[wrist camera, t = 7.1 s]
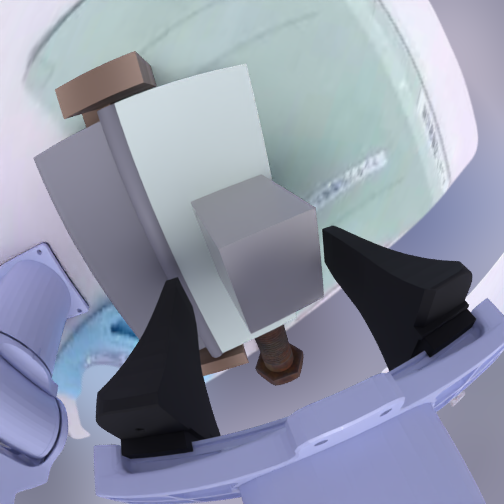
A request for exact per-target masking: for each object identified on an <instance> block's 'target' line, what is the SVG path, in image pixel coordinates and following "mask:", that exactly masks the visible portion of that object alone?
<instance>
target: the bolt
mask: <svg viewBox="0 0 504 504" xmlns="http://www.w3.org/2000/svg"><path fill="white" fill-rule="evenodd" d="M255 341H256V343H257V344H258V347H259V349H260V356H259V359H258V362H257V365H256V370H257V372H258V374H260V375H261V376H262V377H263V378H264V379H266V380H267V381H268V382H270V383H271V384H273V385H275V386H276V385H281V384H285V383H288V382H291V381H292V380H294V379H296V378H298V377H299V376H300V373H301V369H302V364H303V351H302V350H300V349H298V348H297V347H295V346H293V345H291V344H290V343H289V342H288V338H287V335H286V331H285V328H284V324H283V325H281V326H279V327H277V328H275V329H273V330H271V331H269V332H267V333H265V334H263V335H261V336H259V337H257V338H255Z"/></svg>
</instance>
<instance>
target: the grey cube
mask: <svg viewBox="0 0 504 504" xmlns="http://www.w3.org/2000/svg"><path fill="white" fill-rule="evenodd" d="M191 205H192V208H193V210H194V213H195V216H196V219H197V221H198V224H199V226H200V229H201V232H202V234H203V237H204V240H205V242H206V245H207V247H208V250H209V252H210V255H211V258H212V260H213V263H214V265H215V268H216V270H217V273H218V275H219V277H220V279H221V281H222V283H223V285H224V286H225V288H226V290H227V292H228V294H229V296H230V298H231V299H232V301H233V303H234V305H235V307H236V308H237V310H238V312H239V314H240V316H241V317H242V319H243V321H244V323H245V325H246V326H247V328H248V330H249V332H250V333H251V334H252V333H255V332H257V331H259V330H261V329H263V328H265V327H267V326H269V325H271V324H273V323H275V322H277V321H279V320H281V319H283V318H285V317H287V316H289V315H291V314H293V313H295V312H296V311H298V310H300V309H302V308H304V307H306V306H308V305H310V304H312V303H313V302H315V301H317V300H319V299H321V298H323V297H324V292H323V278H322V266H321V255H320V244H319V235H318V225H317V217H316V208H315V207H314V206H312V205H310V204H309V203H307V202H306V201H304V200H303V199H301V198H300V197H298V196H296V195H295V194H293V193H292V192H290V191H288V190H287V189H285V188H283V187H282V186H280V185H279V184H277V183H275V182H274V181H272V180H270V179H269V178H267V177H265V176H264V175H262V174H261V175H258V176H256V177H253V178H250V179H247V180H245V181H242V182H239V183H237V184H234V185H232V186H229V187H226V188H224V189H221V190H219V191H216V192H214V193H211V194H209V195H206V196H204V197H201V198H199V199H196V200H194V201H191Z"/></svg>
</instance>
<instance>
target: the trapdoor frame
mask: <svg viewBox="0 0 504 504" xmlns="http://www.w3.org/2000/svg"><path fill="white" fill-rule="evenodd" d="M153 87H156V83H155V80H154V76H153V73H152V69H151V66H150V65H149V64H148V63H147V62H146V61H145V60H144V59H143V58H142V57H141V56H140V55H139V54H138V53H136V52H135V51H134V52H131V53H129V54H126V55H124V56H121V57H119V58H116V59H114V60H112V61H110V62H107V63H105V64H103V65H101V66H99V67H96V68H94V69H92V70H90V71H88V72H86V73H84V74H82V75H80V76H78V77H77V78H75V79H73V80H71V81H69V82H67V83H66V84H64V85H62V86H60V87H59V88H57V89H55V91H56V95H57V98H58V101H59V105H60V108H61V111H62V114H63V117H64V119H66V118H70V117H73V116H76V115H80V114H82V116H83V119H84V122H85V124H86V127H89V126H91V125H93V124H95V123H98V122H100V120H99V117H98V114H97V111H99V110H101V109H103V108H105V107H107V106H109V105H112V104H114V103H115V102H118V101H120V100H122V99H125V98H127V97H129V96H132V95H134V94H137V93H140V92H142V91H145V90H147V89H150V88H153ZM199 352H200V361H201V368H202V373H203V376H205V375H209V374H212V373H216V372H219V371H223V370H226V369H230V368H233V367H236V366H239V365H243V364H246V363H248V359H247V355H246V352H245V349H244V346H243V344H242V345H239V346H237V347H235V348H233V349H231V350H228V351H226V352H224V353H222V355H221V356H220V357H217V358H214V357H212V356H211V354H210V353H209V351H208V349H207V348H206V347H205V348H203V349H200V350H199Z"/></svg>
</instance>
